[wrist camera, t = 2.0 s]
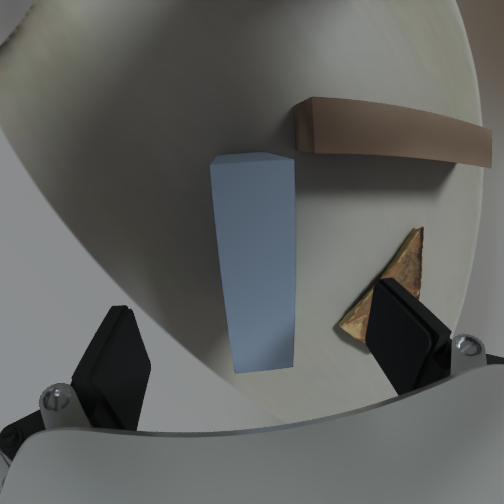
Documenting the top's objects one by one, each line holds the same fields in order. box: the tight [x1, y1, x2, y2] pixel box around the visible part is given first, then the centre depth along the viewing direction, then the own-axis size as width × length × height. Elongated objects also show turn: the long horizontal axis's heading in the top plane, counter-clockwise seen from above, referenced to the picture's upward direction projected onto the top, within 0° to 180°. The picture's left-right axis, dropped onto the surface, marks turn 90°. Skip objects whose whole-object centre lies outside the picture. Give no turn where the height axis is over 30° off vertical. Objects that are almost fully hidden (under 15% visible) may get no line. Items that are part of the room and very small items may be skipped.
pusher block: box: [210, 152, 296, 373], centre depth 15 cm, size 3×10×8 cm, turn 4°
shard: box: [339, 227, 424, 343], centre depth 22 cm, size 11×8×2 cm
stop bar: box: [294, 97, 492, 168], centre depth 15 cm, size 3×15×4 cm, turn 94°
